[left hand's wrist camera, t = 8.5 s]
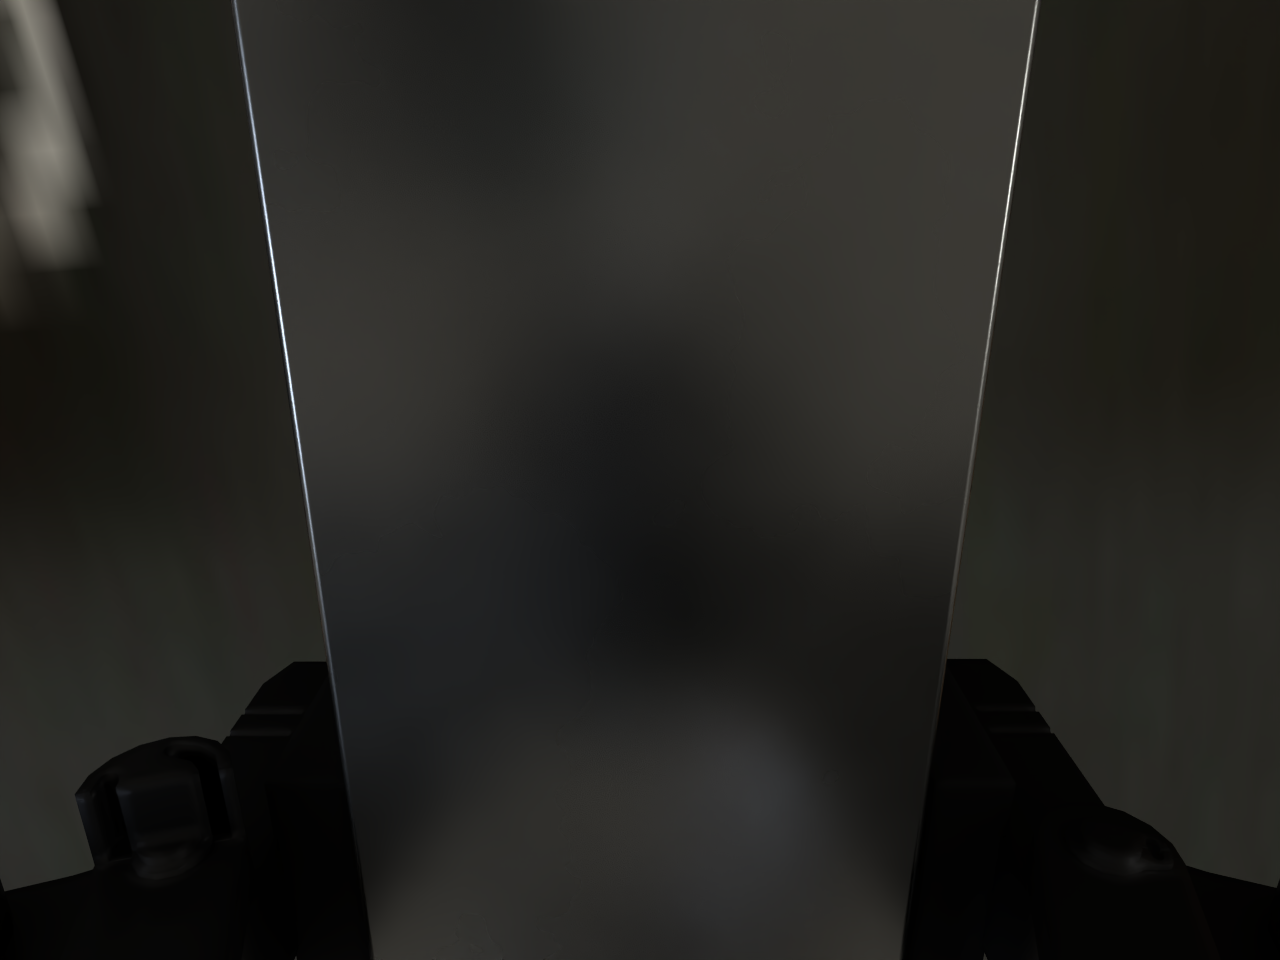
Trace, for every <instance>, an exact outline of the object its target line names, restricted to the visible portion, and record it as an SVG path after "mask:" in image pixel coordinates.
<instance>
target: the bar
mask: <svg viewBox="0 0 1280 960" xmlns="http://www.w3.org/2000/svg"><path fill="white" fill-rule="evenodd" d="M230 1H231V8H232V15H233V22H234V29H235V36H236V43H237V49H238V56H239V63H240V70H241V77H242V84H243V91H244V98H245V104H246V111H247V118H248V125H249V132H250V139H251V146H252V152H253V159H254V166H255V173H256V180H257V187H258V194H259V201H260V207H261V214H262V221H263V228H264V235H265V242H266V249H267V256H268V262H269V269H270V276H271V283H272V290H273V297H274V304H275V310H276V317H277V324H278V331H279V338H280V345H281V352H282V359H283V365H284V372H285V379H286V386H287V393H288V400H289V407H290V414H291V420H292V427H293V434H294V441H295V448H296V455H297V462H298V468H299V475H300V482H301V489H302V496H303V503H304V510H305V517H306V523H307V530H308V537H309V544H310V551H311V558H312V565H313V572H314V578H315V585H316V592H317V599H318V606H319V613H320V620H321V627H322V633H323V640H324V647H325V654H326V661H327V668H328V675H329V681H330V688H331V695H332V702H333V709H334V716H335V723H336V730H337V736H338V743H339V750H340V757H341V764H342V771H343V778H344V785H345V791H346V798H347V805H348V812H349V819H350V826H351V833H352V839H353V846H354V853H355V860H356V867H357V874H358V881H359V888H360V894H361V901H362V908H363V915H364V922H365V929H366V936H367V943H368V949H369V956H370V960H904V954H905V947H906V940H907V933H908V926H909V919H910V912H911V905H912V898H913V891H914V884H915V877H916V870H917V863H918V856H919V849H920V842H921V835H922V829H923V822H924V815H925V808H926V801H927V794H928V787H929V780H930V773H931V766H932V759H933V752H934V745H935V738H936V731H937V724H938V717H939V710H940V703H941V696H942V690H943V683H944V676H945V669H946V662H947V655H948V648H949V641H950V634H951V627H952V620H953V613H954V606H955V599H956V592H957V585H958V578H959V571H960V564H961V557H962V551H963V544H964V537H965V530H966V523H967V516H968V509H969V502H970V495H971V488H972V481H973V474H974V467H975V460H976V453H977V446H978V439H979V432H980V425H981V418H982V412H983V405H984V398H985V391H986V384H987V377H988V370H989V363H990V356H991V349H992V342H993V335H994V328H995V321H996V314H997V307H998V300H999V293H1000V286H1001V279H1002V273H1003V266H1004V259H1005V252H1006V245H1007V238H1008V231H1009V224H1010V217H1011V210H1012V203H1013V196H1014V189H1015V182H1016V175H1017V168H1018V161H1019V154H1020V147H1021V140H1022V134H1023V127H1024V120H1025V113H1026V106H1027V99H1028V92H1029V85H1030V78H1031V71H1032V64H1033V57H1034V50H1035V43H1036V36H1037V29H1038V22H1039V15H1040V8H1041V1H1042V0H230Z"/></svg>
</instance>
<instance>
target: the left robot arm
mask: <svg viewBox="0 0 1280 960" xmlns="http://www.w3.org/2000/svg"><path fill="white" fill-rule="evenodd" d="M230 732H231V733H230V736H227V737H226V738H225V739H224V741H223V742H222V744H220V743H219V742H218V741H215V740H211V739H207V738H202V737H198V736H187V737H169V738H165V739H161V740H158V741H154V742H150V743H146V744H142V745H139V746H137V747H135V748H133V749H131V750H128V751H126V752H124V753H122V754H120V755H118V756H116V757H113V758H111V759H110V760H109V761H107V762H106V763H105V764H103V765H102V766H101V767H99V768H98V769H97V770H95V771H94V772H93V773H91V774H90V775H89V776H88V777H87V778H86V780H85V781H84V783H83V784H82V785H81V787H80V788H79V789H78V791H77V792H76V793H75V797H76V801H77V804H78V808H79V811H80V815H81V818H82V822H83V825H84V829H85V832H86V836H87V839H88V843H89V846H90V850H91V854H92V857H93V861H94V864H95V866H94V869H93V870H90V871H86V872H83V873H80V874H76V875H73V876H69V877H65V878H61V879H56V880H52V881H48V882H43V883H39V884H35V885H30V886H26V887H22V888H17V889H13V890H9V891H4V889H3V886H2V883H1V880H0V960H294V959H295V957H297V960H370V956H369V949H368V943H367V936H366V929H365V922H364V915H363V908H362V901H361V894H360V888H359V881H358V874H357V867H356V860H355V853H354V846H353V839H352V833H351V826H350V819H349V812H348V805H347V798H346V791H345V785H344V778H343V771H342V764H341V757H340V750H339V743H338V736H337V730H336V723H335V716H334V709H333V702H332V695H331V688H330V681H329V675H328V668H327V662H293V663H292V664H290V665H289V666H287V667H286V668H285V669H283V670H282V671H280V672H279V673H278V674H276V675H275V676H273V677H272V678H271V679H269V680H268V681H266V682H265V683H264V684H263V685H262V686H261V688H260V689H259V691H258V692H257V693H256V695H255V696H254V698H253V699H252V701H251V702H250V704H249V705H248V706H247V708H246V709H245V715H241V716H240V718H239V719H238V721H237V722H236V724H235V725H234V727H233V728H232V729H231V731H230ZM984 952H985V955H986V957H987V959H988V960H1280V880H1279V883H1278V886H1277V888H1274V887H1270V886H1266V885H1261V884H1257V883H1253V882H1248V881H1244V880H1240V879H1235V878H1231V877H1227V876H1222V875H1218V874H1214V873H1209V872H1206V871H1202V870H1199V869H1196V868H1193V867H1189V866H1186V865H1185V863H1184V861H1183V860H1182V858H1181V857H1180V855H1179V854H1178V852H1177V850H1176V849H1175V847H1174V846H1173V844H1172V843H1171V842H1169V841H1168V840H1167V839H1166V838H1165V837H1164V836H1162V835H1161V834H1160V833H1159V832H1158V831H1156V830H1155V829H1154V828H1153V827H1152V826H1150V825H1149V824H1147V823H1145V822H1143V821H1141V820H1139V819H1137V818H1135V817H1133V816H1131V815H1129V814H1128V813H1126V812H1124V811H1120V810H1117V809H1113V808H1110V807H1107V806H1104V804H1103V803H1102V801H1101V800H1100V798H1099V797H1098V796H1097V794H1096V793H1095V791H1094V790H1093V788H1092V787H1091V786H1090V784H1089V783H1088V781H1087V780H1086V778H1085V777H1084V776H1083V774H1082V773H1081V771H1080V770H1079V768H1078V767H1077V766H1076V764H1075V763H1074V761H1073V760H1072V758H1071V757H1070V756H1069V754H1068V753H1067V751H1066V750H1065V748H1064V747H1063V746H1062V744H1061V743H1060V741H1059V740H1058V738H1057V737H1056V736H1055V734H1054V733H1050V727H1049V726H1048V724H1047V723H1046V721H1045V720H1044V718H1043V717H1042V716H1041V714H1040V713H1039V712H1036V711H1035V706H1034V704H1033V703H1032V701H1031V700H1030V698H1029V697H1028V696H1027V694H1026V693H1025V691H1024V690H1023V688H1022V687H1021V686H1020V684H1019V683H1018V681H1017V680H1015V679H1014V678H1012V677H1011V676H1010V675H1008V674H1007V673H1005V672H1004V671H1002V670H1001V669H1000V668H998V667H997V666H995V665H994V664H993V663H991V662H990V661H988V660H987V659H947V662H946V669H945V676H944V683H943V690H942V696H941V703H940V710H939V717H938V724H937V731H936V738H935V745H934V752H933V759H932V766H931V773H930V780H929V787H928V794H927V801H926V808H925V815H924V822H923V829H922V835H921V842H920V849H919V856H918V863H917V870H916V877H915V884H914V891H913V898H912V905H911V912H910V919H909V926H908V933H907V940H906V947H905V954H904V960H983V957H984Z"/></svg>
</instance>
